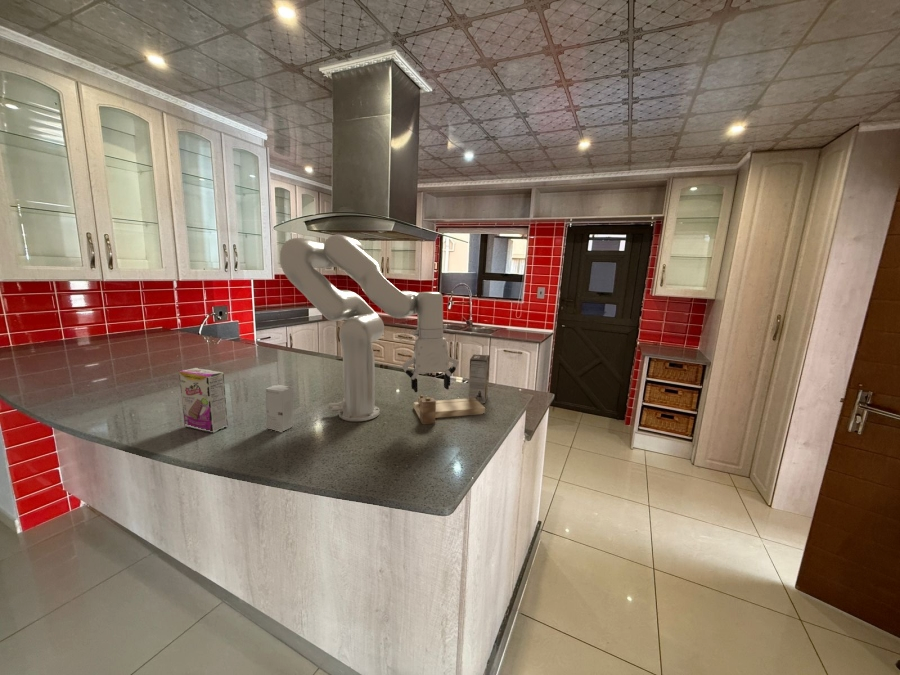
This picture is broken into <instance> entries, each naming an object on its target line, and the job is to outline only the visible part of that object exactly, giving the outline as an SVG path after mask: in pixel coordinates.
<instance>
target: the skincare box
mask: <svg viewBox="0 0 900 675" xmlns="http://www.w3.org/2000/svg"><path fill="white" fill-rule="evenodd" d="M265 420H266V421H265V422H266V423H265V424H266V425H265V426H266V427H265V428H266V429H267V428H270V429H274V430H279V431H284V430H286V429H288V428H290V427H292V426H293V427H294V387H292V386H287V385H280V384H275V385H271V386H269V387H267V388H265ZM293 427H292V428H293Z"/></svg>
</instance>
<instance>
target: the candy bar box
mask: <svg viewBox="0 0 900 675" xmlns="http://www.w3.org/2000/svg"><path fill="white" fill-rule="evenodd" d="M178 375H179V385H180V391H181V392H180V394H181V401H182V402H181V404H182V414H183V422H184V424H183V425H185V424H187V425H191V426H194V427H198V428H201V429H206V430H210V431H213V430H216V429H219V428H221V427H223V426H226V425H228V426H229V423H228V413H227V402H226V401H227V400H226V399H227V398H226V389H225V388H226V386H225V376H224V375H225V373H224V372H223V371H218V370H211V369H205V368H201V367H200V368H199V367H193V368H192V367H191V368H188V369H183V370H181V371H178Z"/></svg>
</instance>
